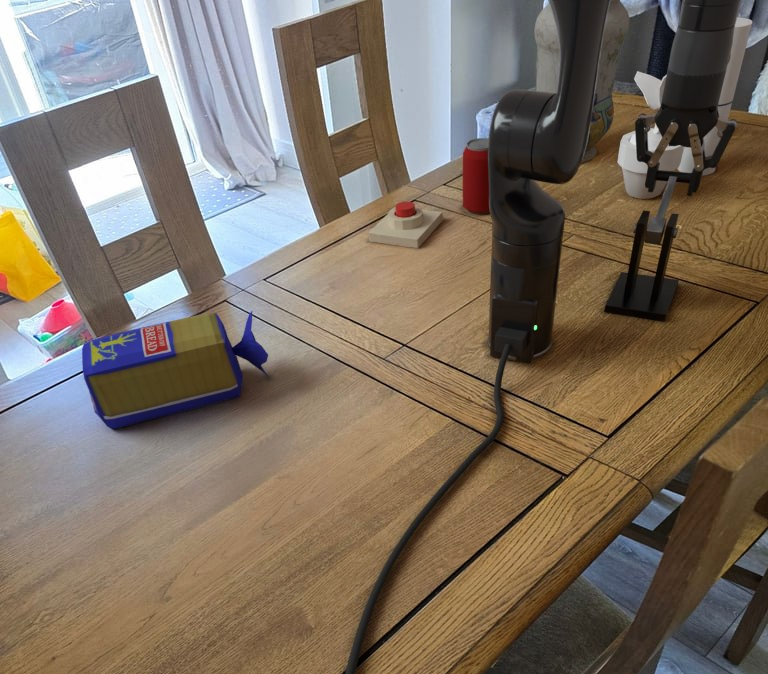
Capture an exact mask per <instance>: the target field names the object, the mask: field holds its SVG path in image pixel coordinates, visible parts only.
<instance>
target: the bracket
mask: <svg viewBox="0 0 768 674" xmlns="http://www.w3.org/2000/svg"><path fill="white" fill-rule="evenodd" d="M650 213H651V210H645V209H644V210H642V212H641V214H640V216H639V217H638V219H637V221H636V222H635V223H634V226H633V231H632V233H633V234H634V236H633V243H632V248H631V253H630V257H629V258H630V259H629V265H628V270H627V272H626V271H621V272H620V273H619V276H618V278H617V280H616V282H615V284H614V286H613V288H612V290H611V292H610V295H609V297H608V299H607V300H606V304H605V305H604V311H603V312H604V313H609V314H613V315H614V314H615V315H621V316H625V317H626V316H627V317H633V318H639V319H645V320H651V321H658V322H666V319H667V316H668V313H669V310H670V308H671V305H672V303H673V300H674V297H675V294H676V292H677V289H678V286H679V282H680V279H675V278H669V277H665V276H666V273H667V267H668V264H669V259H670V255H671V250H672V246H673V242H674V239H676V238H677V236H678V233H679V228H678V227H677V223H678V220H679V215H680V214H679V213H671V214H670V216H669V218H668V221H667V222H666V225H665V231H664V234H663V237H662V241H661V247H660V252H659V257H658V262H657V266H656V270H655V275H647V274H641V273H639V270H640V265H641V261H642V255H643V250H644V245H645V236H646V230H647V227H648V224H649V221H650Z"/></svg>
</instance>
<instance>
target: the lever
mask: <svg viewBox="0 0 768 674" xmlns="http://www.w3.org/2000/svg"><path fill="white" fill-rule="evenodd" d="M691 174H692V173H687V172H680V171H675V170H673V171H664V170H658V171H657V174H656V181H667V183H666V185H665V187H664V188H665V189H664V190H663V191H664V192H663V194H662V197H661V200H660V203H659V206H658V208H657V212H656V215H655V216H650V217H649V220H648V225H647V230H646V235H645V240H644V244H651V245H657V246H658V245H661V244H662V241H663V238H664V233H665V229H666V225H667V217H666V214H667V212H668V208H669V205H670V202H671V200H672V196H673V194H674V193H673V192H674V190H675V187H676V184H689V183H690V178H691Z"/></svg>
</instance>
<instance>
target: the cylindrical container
mask: <svg viewBox="0 0 768 674" xmlns="http://www.w3.org/2000/svg"><path fill="white" fill-rule="evenodd" d="M752 27H753V20H751V19H750V18H746V17H738V16H737V20H736V24H735V28H734V35H733V44H732V49H731V53H730V54H731V56H730V61H729V63H728V66H727V70H726V74H725V78H724V82H723V86H722V91H721V95H720V99H719V103H718V113H719V117H720V118H723V119H726V120H729V117H730V112H731V108H732V105H733V101H734V97H735V93H736V89H737V85H738V81H739V77H740V73H741V70H742V69H741V68H742V65H743V61H744V57H745V53H746V50H747V45H748V41H749V37H750V33H751V30H752ZM717 132H718V128H717V127H716V126H715V127H714V128H713V129H712V130H711V131H710V132H709V133H708V134H707V135H706V136H705V137H704V143H705V155H706V157H707V156H711V155H713V153H714V150H715V148H716V146H717V144H718V142H719V140H720V137H718V136H717ZM693 168H694V160H693V156H692V151H691V148H689V147H684V151H683V155H682V160H681V163H680V166H679V167H678V168H677V170H678V172H687V173H692V171H693ZM716 168H717V166H716V167H715V168H707V169H705V170H704V171H703V174H702V177H704V176H709V175H712V174H713V173H715V171H716Z"/></svg>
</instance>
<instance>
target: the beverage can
mask: <svg viewBox="0 0 768 674" xmlns="http://www.w3.org/2000/svg"><path fill="white" fill-rule="evenodd" d="M488 141H489V137H479V138H473V139H470V140H468V141H467V142H466V146H465V148H464V150H463V152H462V207H463V208H464V209H465V210H466V211H467V212H469V213H471V214H478V215H479V214H480V215H481V214H485V213H490V210H489V169H488Z"/></svg>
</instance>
